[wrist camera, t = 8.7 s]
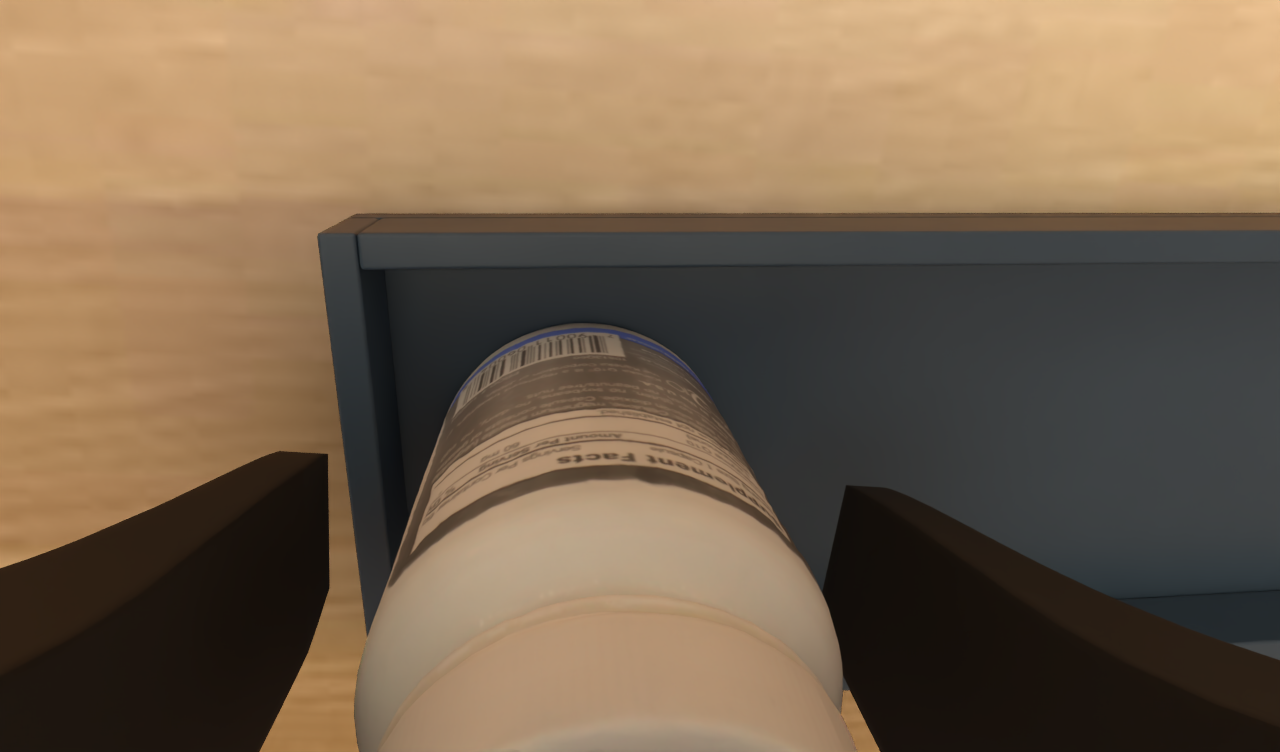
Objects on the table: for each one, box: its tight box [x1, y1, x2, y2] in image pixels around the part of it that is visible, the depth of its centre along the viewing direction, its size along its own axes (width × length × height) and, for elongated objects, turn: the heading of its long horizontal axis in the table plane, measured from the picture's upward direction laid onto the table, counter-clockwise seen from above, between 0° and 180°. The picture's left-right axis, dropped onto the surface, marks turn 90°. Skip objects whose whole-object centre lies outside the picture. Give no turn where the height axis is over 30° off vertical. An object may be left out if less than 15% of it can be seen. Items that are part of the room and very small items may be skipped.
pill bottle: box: [354, 323, 857, 752], centre depth 9 cm, size 5×5×8 cm
